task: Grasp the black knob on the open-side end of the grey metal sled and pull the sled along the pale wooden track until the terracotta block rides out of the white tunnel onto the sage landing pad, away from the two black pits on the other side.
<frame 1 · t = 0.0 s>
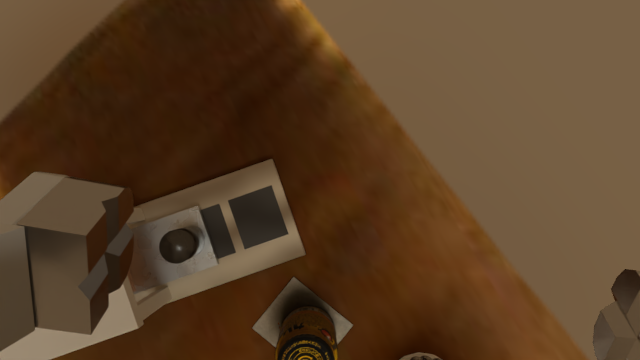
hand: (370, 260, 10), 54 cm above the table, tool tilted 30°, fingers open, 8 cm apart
condiment: (302, 325, 64), on the table
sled: (90, 276, 58), point 5 cm above the table, slide at 0.0 cm
tunnel: (81, 280, 56), on the track, point 8 cm above the table
track: (109, 269, 64), on the table
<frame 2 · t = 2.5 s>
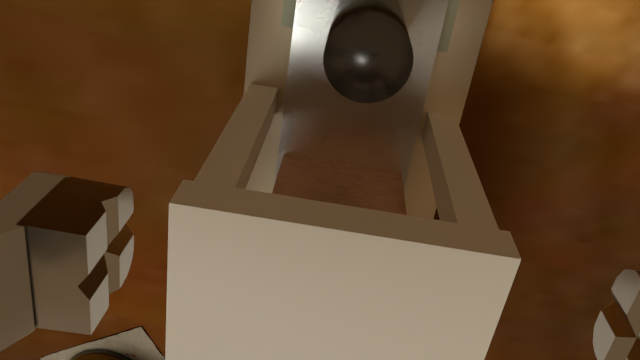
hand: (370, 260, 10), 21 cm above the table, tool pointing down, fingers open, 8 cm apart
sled: (331, 239, 28), point 5 cm above the table, slide at 0.0 cm
tunnel: (328, 268, 26), on the track, point 8 cm above the table
track: (336, 188, 33), on the table
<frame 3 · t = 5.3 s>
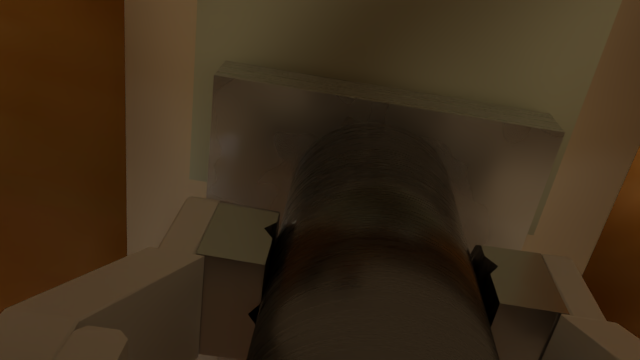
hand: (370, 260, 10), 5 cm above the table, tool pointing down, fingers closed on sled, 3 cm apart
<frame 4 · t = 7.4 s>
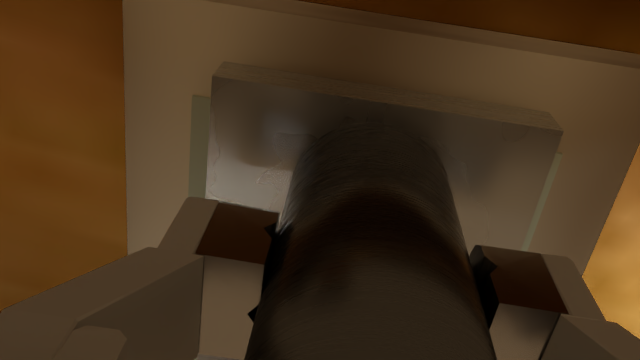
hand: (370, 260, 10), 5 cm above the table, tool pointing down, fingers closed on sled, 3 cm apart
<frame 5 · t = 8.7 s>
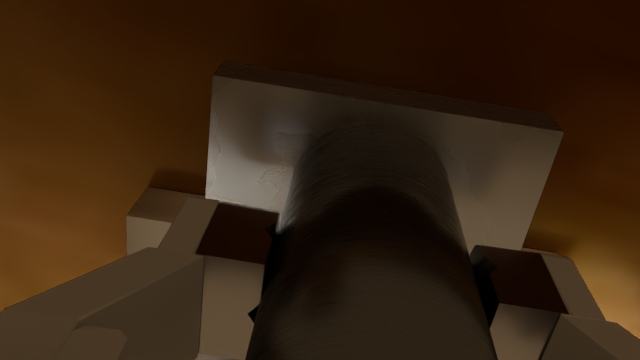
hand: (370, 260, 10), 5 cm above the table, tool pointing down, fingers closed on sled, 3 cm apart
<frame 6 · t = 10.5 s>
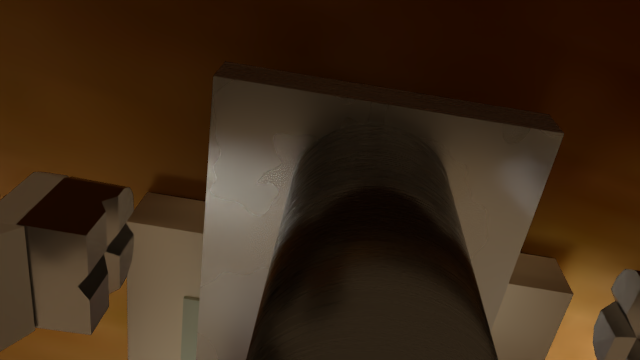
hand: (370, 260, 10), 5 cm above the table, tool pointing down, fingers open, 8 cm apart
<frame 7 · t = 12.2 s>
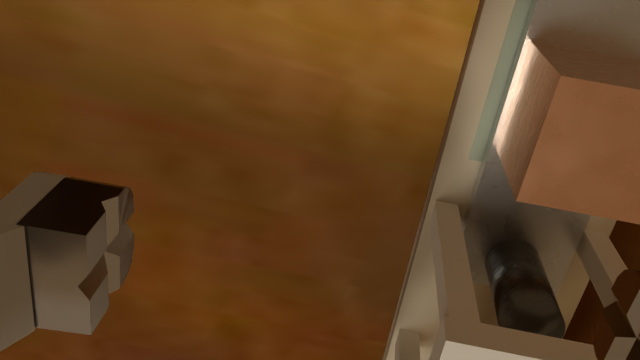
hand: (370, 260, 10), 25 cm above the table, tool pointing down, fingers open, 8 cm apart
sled: (583, 125, 28), point 5 cm above the table, slide at 13.5 cm
track: (488, 278, 39), on the table
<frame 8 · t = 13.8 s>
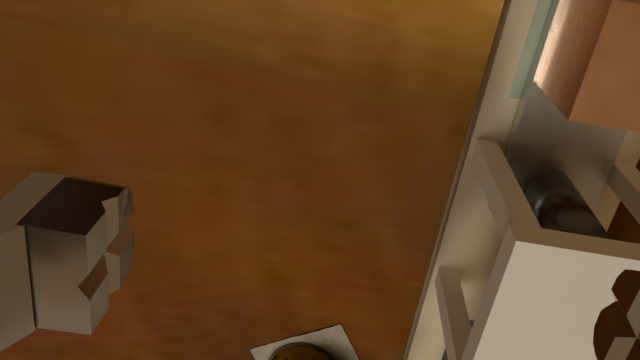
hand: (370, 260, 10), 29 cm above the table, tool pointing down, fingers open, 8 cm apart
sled: (621, 54, 31), point 5 cm above the table, slide at 13.5 cm
tunnel: (552, 280, 35), on the track, point 8 cm above the table
track: (521, 215, 42), on the table
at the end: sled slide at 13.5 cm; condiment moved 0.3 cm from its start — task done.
